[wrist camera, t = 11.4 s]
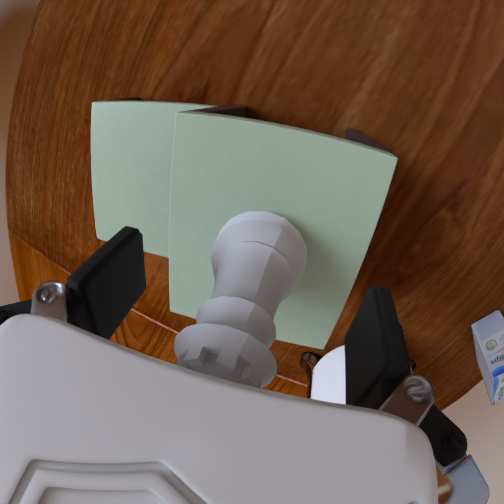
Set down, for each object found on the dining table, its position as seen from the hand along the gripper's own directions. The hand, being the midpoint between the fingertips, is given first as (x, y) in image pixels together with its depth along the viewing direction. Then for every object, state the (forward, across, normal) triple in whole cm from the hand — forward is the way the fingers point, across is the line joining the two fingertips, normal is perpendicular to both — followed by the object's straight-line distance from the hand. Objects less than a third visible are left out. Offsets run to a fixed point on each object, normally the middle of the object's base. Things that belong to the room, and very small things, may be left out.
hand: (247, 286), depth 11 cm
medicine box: (+14, -30, +12) cm, 35 cm away
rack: (+14, +5, 0) cm, 15 cm away
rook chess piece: (+4, 0, 0) cm, 4 cm away
